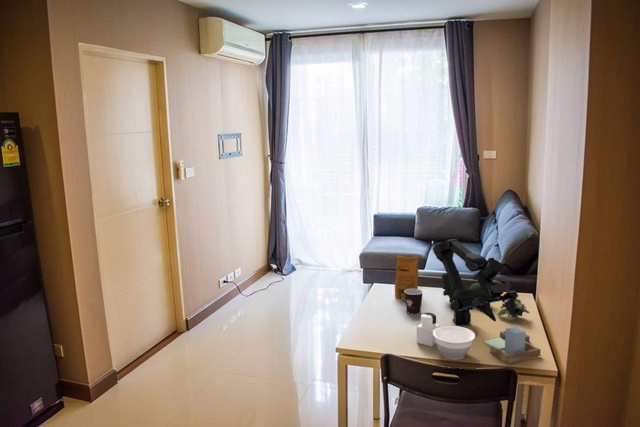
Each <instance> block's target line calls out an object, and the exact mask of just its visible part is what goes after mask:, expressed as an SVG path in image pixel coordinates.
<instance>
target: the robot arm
mask: <svg viewBox="0 0 640 427" xmlns="http://www.w3.org/2000/svg"><path fill="white" fill-rule="evenodd" d="M432 252H433V254H434V255H435V257H436V259H437V260H438V261H439V262H441V263H442V265H443V267H444V270H445V273H447V275H448V277H449V280H450V283H451V285H452V288H453V290H454V295H453V300H454V301H453V302H452V303H451V302H450V304H449V305H450V310H452V312H453V318H452V321H453V323H454V324H455V326H471V325H472V323H471V322H472V319H471V318H472V317H471V316H472V314H471V312H470V311H473V310H477V311H480V312H482V314H484V315H486V317H488V318H489V319H490V320H491V321H493V322H496V321H497V318H496V315H495V314H494V312H493V310H492V308H491V303H496V302H497V303H498V302H502V303H503V304H504V306H505V309H507V310H508V311H509V313H510V314H511V315H510V317H511V318H512V317H513V318H514V319H515V318H516V317H515V309H514V301H515V300H516V299H518V297H519V294H518V293H517V291H516V290H510V291H509V289H511V288H512V285H511V282H510V281H509V280H503V281H502V282H501V283H498V282H495V281H494V279H495V278H496V277H497V276H498V275H499V274H500V273H501V272H502V271H503V270H504V269H503V268H504V266H503V263H501V262H500V261H499V260H496V259H495V258H494V257H489V258H488V259H486V258H485V257H484V256H482V255H480V254H477V253H474V252H472V251H470V249H468V248H467V247H466V246H464V245H463V244H462V243H461V242H460V241H459V240H458V239H456V238H455V239H453V238H452V239H447V240H445V241H443V242H441V243H436V244H434V247H433V248H432ZM454 254H455V255H457V257H459V258H460V259H461V260H462V261H463V262H464V266H465V267H466V268H467V269H468V270H469V272H471V273H472V272H473V273H474V272H475V273H474V274H473V275H474V276H473V278H472V279H473V281H477V283H479V285H480V287H481V290H480V291H481V293H484V295H485V296H481V297H477V298H476V299H474V296H473V294H472V291H471V290H470V289H469V288H466V287H465V284H464V282H463V280H462V277H461V276H460V272H459V273H458V271H459V270H458V268H457V265H456V263H455V261H454ZM476 272H477V273H476ZM504 292H505V293H504Z"/></svg>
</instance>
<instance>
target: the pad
mask: <svg viewBox="0 0 640 427" xmlns="http://www.w3.org/2000/svg"><path fill="white" fill-rule="evenodd" d="M483 343H484V344H485V345H487V346H489V347H490V345H493V346H495V347H497V348H498V349H500V350H505V340H504V339H503V338H501V337H496V338H493V339H492V338H491V339H487V340H483Z"/></svg>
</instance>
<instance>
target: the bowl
mask: <svg viewBox="0 0 640 427" xmlns="http://www.w3.org/2000/svg"><path fill="white" fill-rule="evenodd" d="M433 336H434V337H435V340H436V344H435V345H436V346H437V348H438V349H439V351H440V352H441V355H442V356H443V358H446V359H448V360H454V361H455V360H457V361H458V360H461V359H464V358H465V356H466V355H467V354H468V352H469V351H470V350H471V348H472V344H473V341H474V340H475V338H476V334H475V332H474V331H473V330H471V329H469V328H468V327H467V328H466V327H464V326H463V327H462V326H460V325H458V326H457V325H443V326H442V325H441V326H440V327H438V328H436V329H435V330H434V331H433Z"/></svg>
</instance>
